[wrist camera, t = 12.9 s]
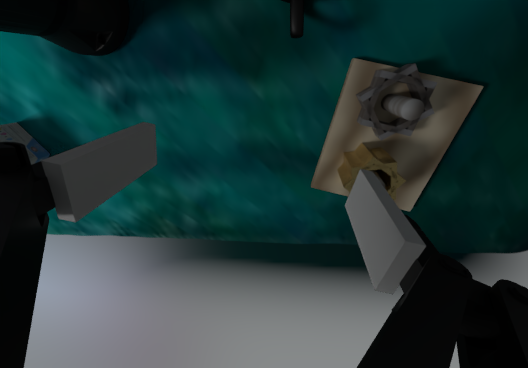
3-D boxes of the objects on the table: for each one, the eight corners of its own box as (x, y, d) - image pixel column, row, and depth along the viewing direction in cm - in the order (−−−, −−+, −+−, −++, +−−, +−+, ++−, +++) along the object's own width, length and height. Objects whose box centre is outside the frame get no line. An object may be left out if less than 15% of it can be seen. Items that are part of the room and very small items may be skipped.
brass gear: (338, 190, 41) (345, 211, 35) (335, 146, 38) (341, 161, 32) (388, 185, 39) (404, 206, 33) (389, 138, 36) (407, 152, 30)
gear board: (311, 183, 43) (313, 210, 35) (353, 54, 33) (371, 47, 25) (406, 207, 42) (432, 240, 34) (478, 81, 33) (541, 84, 24)
